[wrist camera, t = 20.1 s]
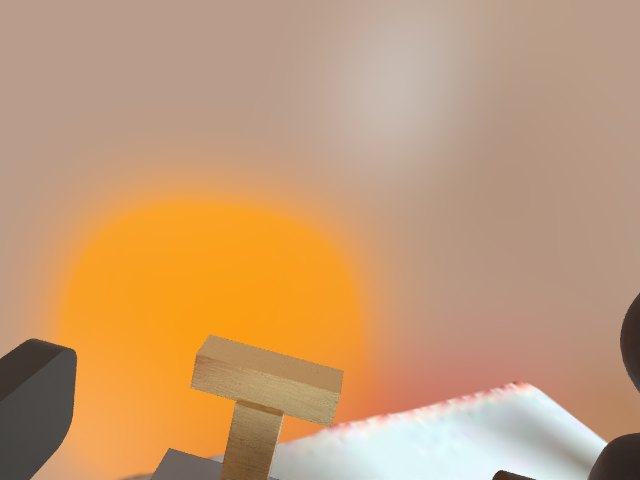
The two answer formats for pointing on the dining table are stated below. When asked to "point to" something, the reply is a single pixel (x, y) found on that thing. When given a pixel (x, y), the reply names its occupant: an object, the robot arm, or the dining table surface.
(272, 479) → the block
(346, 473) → the dining table surface
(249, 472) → the t key
